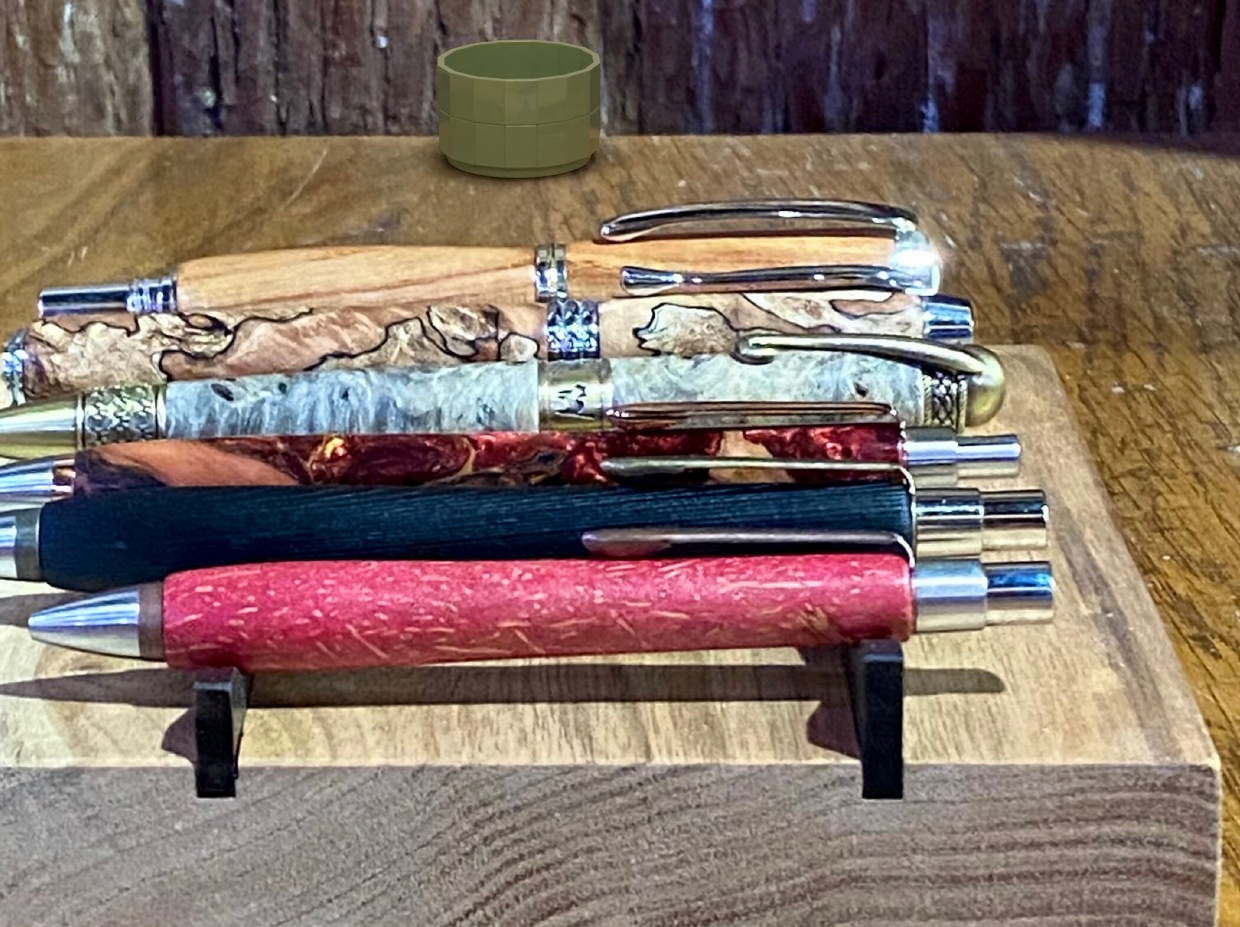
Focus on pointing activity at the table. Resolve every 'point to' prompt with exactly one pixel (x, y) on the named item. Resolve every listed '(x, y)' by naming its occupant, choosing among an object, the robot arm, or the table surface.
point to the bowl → (519, 107)
